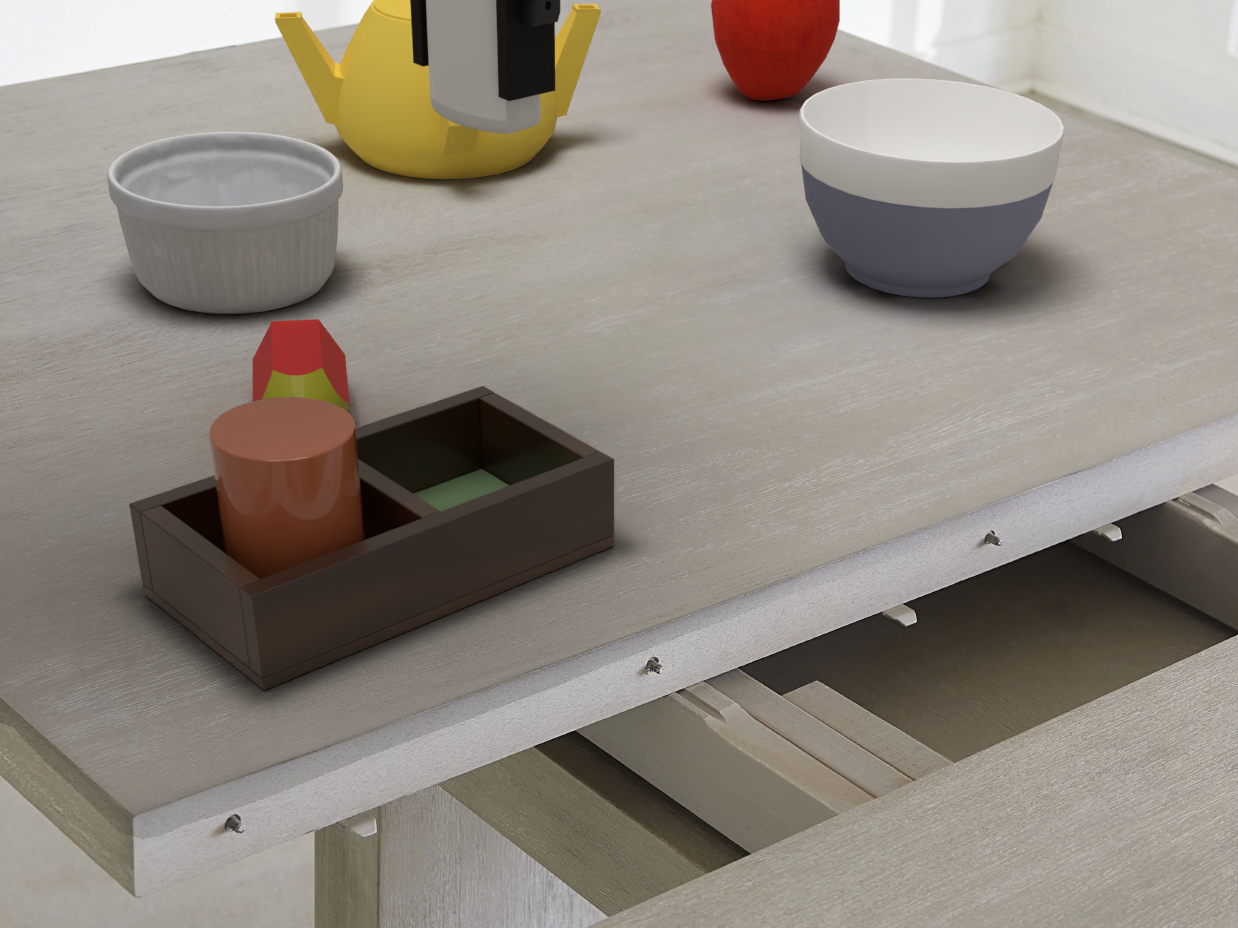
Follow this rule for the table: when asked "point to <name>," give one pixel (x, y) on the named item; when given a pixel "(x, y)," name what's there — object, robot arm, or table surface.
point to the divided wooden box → (389, 537)
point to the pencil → (300, 364)
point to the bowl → (926, 179)
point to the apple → (774, 43)
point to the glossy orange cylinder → (286, 482)
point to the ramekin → (229, 219)
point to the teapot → (421, 96)
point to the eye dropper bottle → (471, 69)
